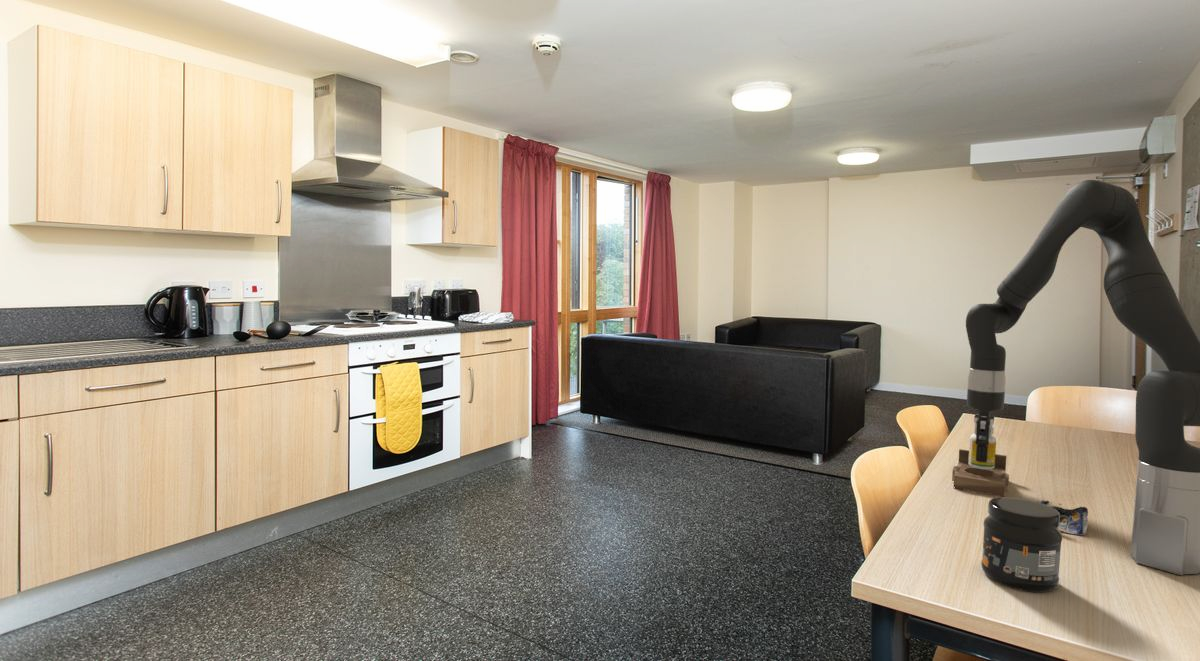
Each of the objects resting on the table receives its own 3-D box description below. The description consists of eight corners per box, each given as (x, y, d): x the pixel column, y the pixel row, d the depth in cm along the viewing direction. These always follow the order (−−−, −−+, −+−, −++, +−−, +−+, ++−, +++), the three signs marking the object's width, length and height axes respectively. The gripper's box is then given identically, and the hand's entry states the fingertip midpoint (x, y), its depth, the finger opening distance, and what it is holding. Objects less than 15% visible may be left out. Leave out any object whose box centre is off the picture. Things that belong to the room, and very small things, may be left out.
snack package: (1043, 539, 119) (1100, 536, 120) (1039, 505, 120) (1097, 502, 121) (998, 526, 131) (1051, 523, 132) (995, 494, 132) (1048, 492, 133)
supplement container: (989, 558, 109) (993, 491, 108) (1063, 579, 102) (1069, 506, 101) (973, 578, 102) (977, 506, 101) (1052, 602, 95) (1058, 524, 94)
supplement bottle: (964, 463, 153) (966, 424, 152) (987, 463, 152) (989, 424, 152) (975, 469, 148) (977, 429, 147) (999, 470, 147) (1001, 430, 146)
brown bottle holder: (1007, 497, 141) (1009, 471, 141) (950, 487, 148) (951, 462, 147) (1008, 480, 154) (1009, 456, 154) (955, 471, 160) (956, 448, 160)
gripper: (1004, 394, 141) (999, 468, 142) (1005, 385, 153) (1001, 454, 154) (965, 390, 145) (961, 463, 146) (969, 382, 157) (965, 449, 158)
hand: (981, 458), depth 150 cm, fingers closed on supplement bottle, 5 cm apart
